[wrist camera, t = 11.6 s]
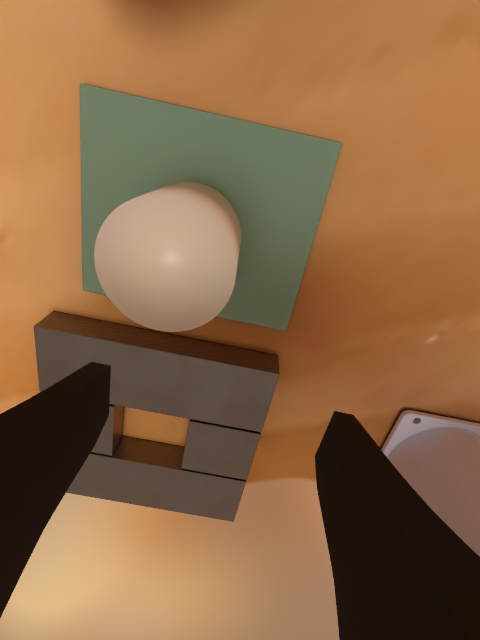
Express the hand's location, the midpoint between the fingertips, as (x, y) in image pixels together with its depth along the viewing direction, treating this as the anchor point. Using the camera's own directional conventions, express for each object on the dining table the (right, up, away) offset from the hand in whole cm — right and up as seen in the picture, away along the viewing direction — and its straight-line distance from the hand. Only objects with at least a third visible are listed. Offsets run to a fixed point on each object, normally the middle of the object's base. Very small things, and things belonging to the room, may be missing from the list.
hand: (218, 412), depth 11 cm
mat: (-1, +8, +7) cm, 11 cm away
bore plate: (-5, -4, +13) cm, 15 cm away
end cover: (-1, +8, +7) cm, 10 cm away
